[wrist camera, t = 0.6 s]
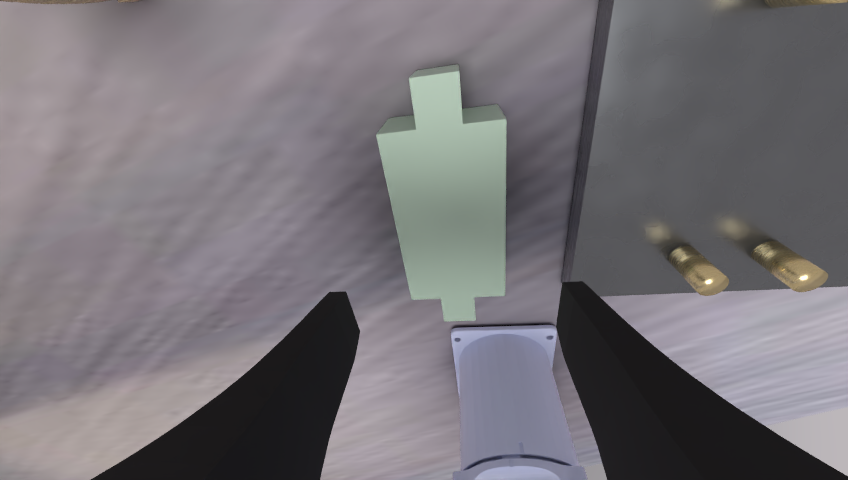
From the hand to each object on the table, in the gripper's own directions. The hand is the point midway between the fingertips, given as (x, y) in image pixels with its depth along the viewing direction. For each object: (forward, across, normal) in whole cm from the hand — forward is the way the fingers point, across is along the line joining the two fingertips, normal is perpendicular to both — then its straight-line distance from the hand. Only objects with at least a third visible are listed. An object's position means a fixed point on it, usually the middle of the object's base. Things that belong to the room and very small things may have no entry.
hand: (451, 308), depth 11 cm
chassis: (+9, -15, -2) cm, 18 cm away
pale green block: (+9, 0, 0) cm, 9 cm away
